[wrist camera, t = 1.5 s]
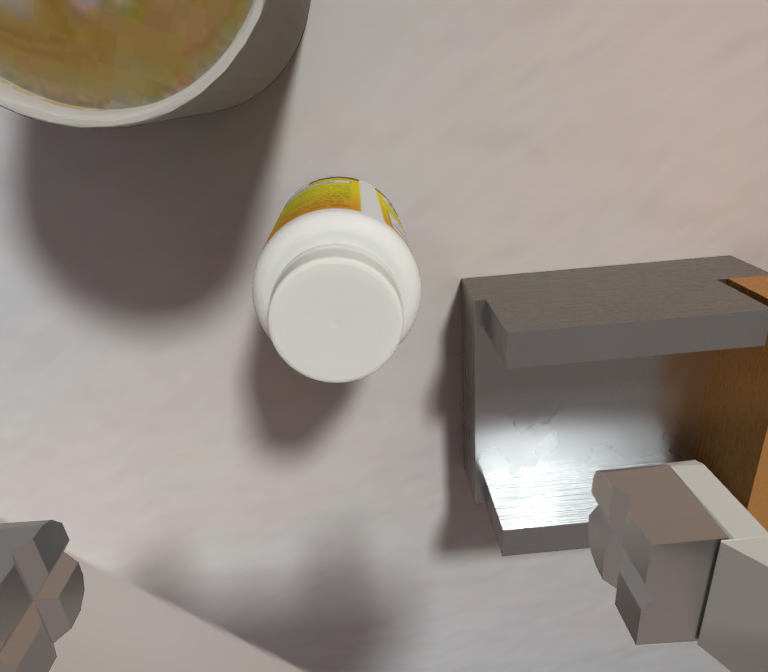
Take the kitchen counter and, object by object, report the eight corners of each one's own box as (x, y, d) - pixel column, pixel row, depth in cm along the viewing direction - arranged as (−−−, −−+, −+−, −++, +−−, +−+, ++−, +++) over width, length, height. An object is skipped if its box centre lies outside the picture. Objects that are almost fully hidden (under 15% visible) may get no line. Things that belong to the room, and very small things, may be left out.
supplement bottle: (256, 256, 26) (203, 354, 16) (317, 148, 24) (296, 187, 14) (361, 314, 27) (367, 435, 18) (425, 216, 25) (470, 293, 16)
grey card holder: (464, 467, 31) (494, 565, 25) (461, 278, 26) (497, 339, 20) (694, 445, 31) (783, 537, 25) (730, 255, 27) (849, 308, 20)
